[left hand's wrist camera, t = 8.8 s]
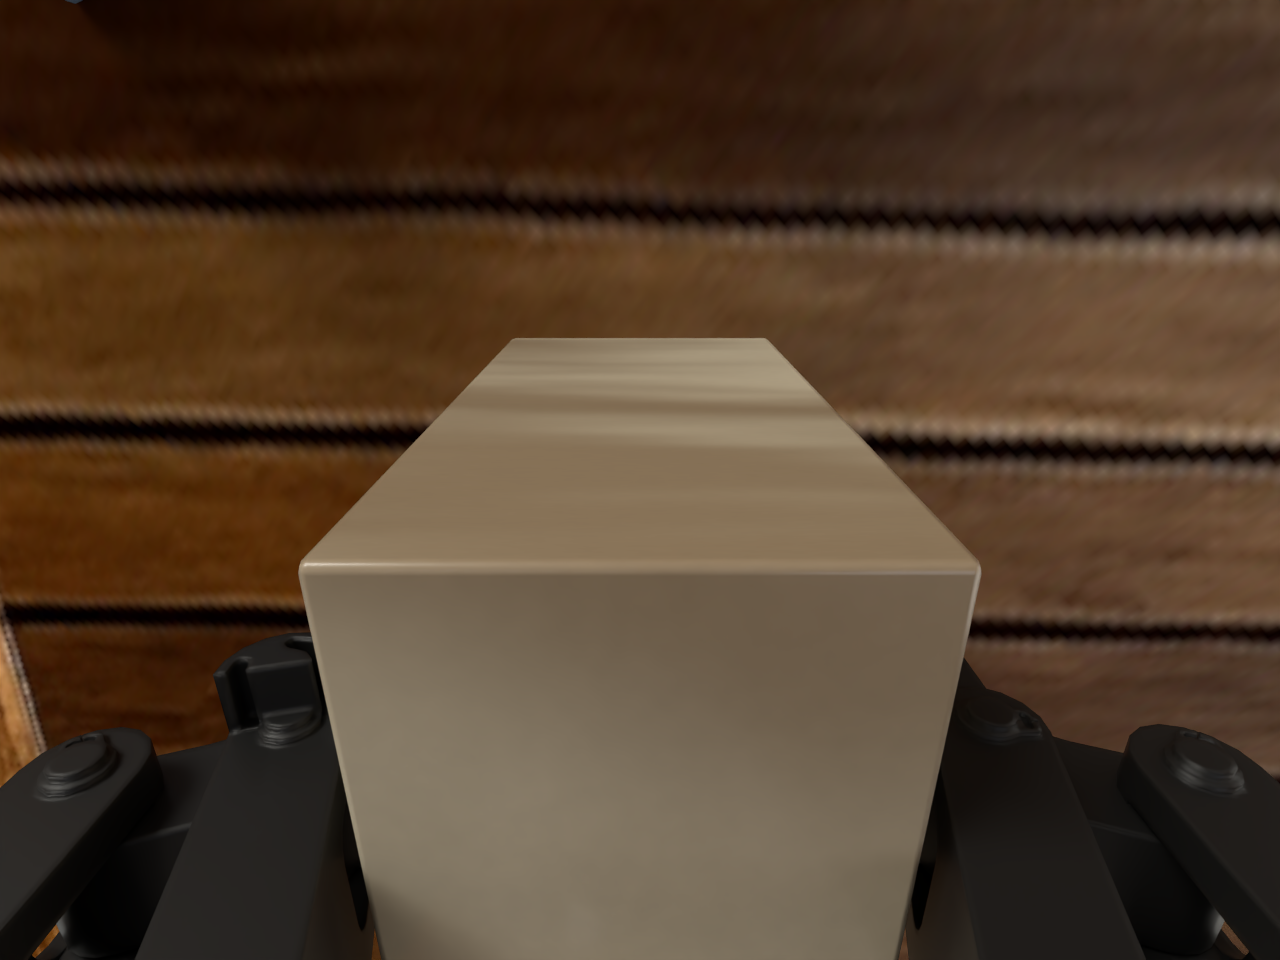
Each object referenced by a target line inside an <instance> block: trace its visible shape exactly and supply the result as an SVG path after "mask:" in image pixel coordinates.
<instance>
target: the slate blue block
mask: <svg viewBox="0 0 1280 960" xmlns="http://www.w3.org/2000/svg"><path fill="white" fill-rule="evenodd" d="M65 1H68V2H71V3H78V2H80V1H82V0H65Z"/></svg>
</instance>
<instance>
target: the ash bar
mask: <svg viewBox="0 0 1280 960" xmlns="http://www.w3.org/2000/svg"><path fill="white" fill-rule="evenodd" d="M298 575H299V579H300V584H301V589H302V593H303V598H304V603H305V607H306V612H307V616H308V621H309V626H310V630H311V635H312V640H313V644H314V649H315V653H316V658H317V663H318V667H319V672H320V677H321V681H322V686H323V691H324V695H325V700H326V704H327V709H328V714H329V718H330V723H331V728H332V732H333V737H334V742H335V746H336V751H337V755H338V760H339V765H340V769H341V774H342V779H343V783H344V788H345V792H346V797H347V802H348V806H349V811H350V816H351V820H352V825H353V830H354V834H355V839H356V843H357V848H358V853H359V857H360V862H361V867H362V871H363V876H364V881H365V885H366V890H367V894H368V899H369V904H370V908H371V913H372V918H373V922H374V927H375V931H376V936H377V941H378V945H379V950H380V955H381V959H382V960H898V958H899V954H900V949H901V944H902V940H903V935H904V930H905V926H906V921H907V916H908V912H909V907H910V903H911V898H912V893H913V889H914V884H915V879H916V875H917V870H918V865H919V861H920V856H921V852H922V847H923V842H924V838H925V833H926V828H927V824H928V819H929V814H930V810H931V805H932V801H933V796H934V791H935V787H936V782H937V777H938V773H939V768H940V763H941V759H942V754H943V750H944V745H945V740H946V736H947V731H948V726H949V722H950V717H951V712H952V708H953V703H954V699H955V694H956V689H957V685H958V680H959V675H960V671H961V666H962V662H963V657H964V652H965V648H966V643H967V638H968V634H969V629H970V624H971V620H972V615H973V611H974V606H975V601H976V597H977V592H978V587H979V583H980V578H981V567H980V564H979V561H978V560H977V559H976V558H975V557H974V556H973V554H972V553H971V552H970V551H969V550H968V549H967V548H966V547H965V546H964V545H963V544H962V543H961V542H960V541H959V540H958V539H957V538H956V537H955V536H954V535H953V534H952V532H951V531H950V530H949V529H948V528H947V527H946V526H945V525H944V524H943V523H942V522H941V521H940V520H939V519H938V518H937V517H936V516H935V515H934V514H933V513H932V512H931V510H930V509H929V508H928V507H927V506H926V505H925V504H924V503H923V502H922V501H921V500H920V499H919V498H918V497H917V496H916V495H915V494H914V493H913V492H912V491H911V489H910V488H909V487H908V486H907V485H906V484H905V483H904V482H903V481H902V480H901V479H900V478H899V477H898V476H897V475H896V474H895V473H894V472H893V471H892V470H891V469H890V467H889V466H888V465H887V464H886V463H885V462H884V461H883V460H882V459H881V458H880V457H879V456H878V455H877V454H876V453H875V452H874V451H873V450H872V449H871V448H870V447H869V445H868V444H867V443H866V442H865V441H864V440H863V439H862V438H861V437H860V436H859V435H858V434H857V433H856V432H855V431H854V430H853V429H852V428H851V427H850V426H849V425H848V423H847V422H846V421H845V420H844V419H843V418H842V417H841V416H840V415H839V414H838V413H837V412H836V411H835V410H834V409H833V408H832V407H831V406H830V405H829V404H828V403H827V401H826V400H825V399H824V398H823V397H822V396H821V395H820V394H819V393H818V392H817V391H816V390H815V389H814V388H813V387H812V386H811V385H810V384H809V383H808V382H807V381H806V379H805V378H804V377H803V376H802V375H801V374H800V373H799V372H798V371H797V370H796V369H795V368H794V367H793V366H792V365H791V364H790V363H789V362H788V361H787V360H786V359H785V357H784V356H783V355H782V354H781V353H780V352H779V351H778V350H777V349H776V348H775V347H774V346H773V345H772V344H771V343H770V342H769V341H768V340H767V339H765V338H515V339H512V340H511V341H510V342H509V343H508V344H507V345H506V346H505V347H504V349H503V350H502V351H501V352H500V353H499V354H498V355H497V356H496V357H495V358H494V359H493V360H492V361H491V362H490V363H489V364H488V365H487V366H486V367H485V368H484V370H483V371H482V372H481V373H480V374H479V375H478V376H477V377H476V378H475V379H474V380H473V381H472V382H471V383H470V384H469V385H468V386H467V387H466V388H465V389H464V391H463V392H462V393H461V394H460V395H459V396H458V397H457V398H456V399H455V400H454V401H453V402H452V403H451V404H450V405H449V406H448V407H447V408H446V409H445V410H444V412H443V413H442V414H441V415H440V416H439V417H438V418H437V419H436V420H435V421H434V422H433V423H432V424H431V425H430V426H429V427H428V428H427V429H426V430H425V431H424V433H423V434H422V435H421V436H420V437H419V438H418V439H417V440H416V441H415V442H414V443H413V444H412V445H411V446H410V447H409V448H408V449H407V450H406V451H405V452H404V454H403V455H402V456H401V457H400V458H399V459H398V460H397V461H396V462H395V463H394V464H393V465H392V466H391V467H390V468H389V469H388V470H387V471H386V472H385V473H384V475H383V476H382V477H381V478H380V479H379V480H378V481H377V482H376V483H375V484H374V485H373V486H372V487H371V488H370V489H369V490H368V491H367V492H366V493H365V495H364V496H363V497H362V498H361V499H360V500H359V501H358V502H357V503H356V504H355V505H354V506H353V507H352V508H351V509H350V510H349V511H348V512H347V513H346V514H345V516H344V517H343V518H342V519H341V520H340V521H339V522H338V523H337V524H336V525H335V526H334V527H333V528H332V529H331V530H330V531H329V532H328V533H327V534H326V535H325V537H324V538H323V539H322V540H321V541H320V542H319V543H318V544H317V545H316V546H315V547H314V548H313V549H312V550H311V551H310V552H309V553H308V554H307V555H306V556H305V558H304V559H303V560H302V561H301V563H300V566H299V573H298Z"/></svg>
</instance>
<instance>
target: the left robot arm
mask: <svg viewBox="0 0 1280 960" xmlns="http://www.w3.org/2000/svg"><path fill="white" fill-rule="evenodd" d="M213 676H214V680H215V683H216V687H217V690H218V694H219V697H220V701H221V704H222V708H223V711H224V715H225V718H226V722H227V725H228V729H229V732H230V733H229V735H228V738H227V740H223V741H220V742H216V743H213V744H209V745H205V746H200V747H196V748H191V749H186V750H182V751H177V752H173V753H168V754H164V755H159V756H156V753H155V750H154V747H153V744H152V741H151V738H149V737H148V736H147V735H146V734H145V733H143V732H142V731H141V730H137V729H131V728H124V727H119V728H112V729H104V730H97V731H94V732H91V733H87V734H84V735H82V736H81V735H80V736H77V737H75V738H72V739H69V740H67V741H65V742H63V743H61V744H60V745H58V746H56V747H54V748H52V749H50V750H48V751H46V752H44V753H42V754H41V755H39V756H38V757H37V758H35V759H34V760H33V761H31V762H30V763H29V764H27V765H26V766H25V767H23V768H22V769H21V770H19V771H18V772H17V773H16V774H15V775H14V776H13V777H12V778H11V779H9V780H8V781H7V782H6V783H5V784H4V785H3V786H2V787H1V788H0V960H371V958H372V948H373V938H374V929H375V927H374V922H373V918H372V913H371V908H370V904H369V899H368V894H367V890H366V885H365V881H364V876H363V871H362V867H361V862H360V857H359V853H358V848H357V843H356V839H355V834H354V830H353V825H352V820H351V816H350V811H349V806H348V802H347V797H346V792H345V788H344V783H343V779H342V774H341V769H340V765H339V760H338V755H337V751H336V746H335V742H334V737H333V732H332V728H331V723H330V718H329V714H328V709H327V704H326V700H325V695H324V691H323V686H322V681H321V677H320V672H319V667H318V663H317V658H316V653H315V649H314V644H313V640H312V635H311V632H310V633H288V634H284V635H279V636H275V637H270V638H266V639H264V640H261V641H259V642H256V643H254V644H252V645H249V646H247V647H245V648H243V649H241V650H240V651H238V652H237V653H235V654H234V655H232V656H231V657H229V658H228V659H226V660H225V661H224V662H223V663H222V665H221V666H220V667H219V668H218V669H217V671H216V672H215V673H214V674H213ZM1224 921H1225V922H1226V923H1227V924H1228V925H1229V927H1230V928H1231V929H1232V930H1233V932H1234V933H1235V934H1236V935H1237V937H1238V938H1239V939H1240V940H1241V942H1242V943H1243V944H1244V945H1245V947H1246V948H1247V949H1248V950H1249V953H1248V954H1247V955H1244V954H1243V953H1242V952H1241V951H1240V950H1239V949H1238V948H1237V947H1236V946H1235V945H1234V944H1233V943H1232V942H1231V941H1230V940H1229V938H1228V937H1227V936H1226V935H1225V933H1224V932H1223V931H1222V929H1221V927H1222V925H1223V923H1224ZM56 924H57V926H58V929H59V931H60V932H59V933H58V934H57V935H56V937H55V938H54V939H53V941H52V942H51V943H50V944H49V946H48V947H47V948H45V949H44V950H43V951H42V952H41V953H40V954H39V955H38V956H37V957H36V958H34V957H33V956H32V954H33V952H34V951H35V950H36V949H37V947H38V946H39V945H40V944H41V942H42V941H43V940H44V939H45V937H46V936H47V935H48V934H49V932H50V931H51V930H52V929H53V927H54V926H55V925H56ZM905 927H906V936H907V946H908V956H909V960H1280V784H1279V783H1278V782H1277V781H1276V780H1275V779H1274V778H1273V777H1272V776H1270V775H1269V774H1268V773H1267V772H1266V771H1265V770H1264V769H1263V768H1262V767H1260V766H1259V765H1258V764H1256V763H1255V762H1254V761H1252V760H1251V759H1250V758H1248V757H1247V756H1246V755H1244V754H1243V753H1242V752H1240V751H1239V750H1237V749H1235V748H1233V747H1231V746H1229V745H1227V744H1225V743H1223V742H1221V741H1219V740H1217V739H1216V738H1214V737H1212V736H1209V735H1206V734H1204V733H1201V732H1196V731H1194V730H1190V729H1187V728H1184V727H1177V726H1169V725H1162V724H1156V725H1150V726H1143V727H1139V728H1138V729H1137V730H1136V731H1135V732H1133V733H1132V734H1131V735H1130V736H1129V739H1128V742H1127V745H1126V748H1125V751H1124V753H1120V752H1116V751H1111V750H1107V749H1102V748H1098V747H1093V746H1088V745H1084V744H1079V743H1075V742H1070V741H1067V740H1063V739H1060V738H1056V737H1053V736H1052V734H1051V732H1050V730H1049V729H1048V727H1047V726H1046V725H1045V723H1044V722H1043V720H1042V719H1041V717H1040V716H1039V715H1037V714H1036V713H1035V712H1033V711H1032V710H1031V709H1030V708H1028V707H1027V706H1026V705H1024V704H1023V703H1022V702H1019V701H1017V700H1015V699H1013V698H1011V697H1009V696H1007V695H1005V694H1003V693H1001V692H997V691H993V690H989V689H986V688H985V686H984V685H983V684H982V682H981V681H980V679H979V678H978V677H977V675H976V674H975V672H974V671H973V670H972V668H971V667H970V665H969V664H968V663H967V661H966V660H965V659H964V657H963V662H962V666H961V671H960V675H959V680H958V685H957V689H956V694H955V699H954V703H953V708H952V712H951V717H950V722H949V726H948V731H947V736H946V740H945V745H944V750H943V754H942V759H941V763H940V768H939V773H938V777H937V782H936V787H935V791H934V796H933V801H932V805H931V810H930V814H929V819H928V824H927V828H926V833H925V838H924V842H923V847H922V852H921V856H920V861H919V865H918V870H917V875H916V879H915V884H914V889H913V893H912V898H911V903H910V907H909V912H908V916H907V921H906V926H905Z"/></svg>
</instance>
